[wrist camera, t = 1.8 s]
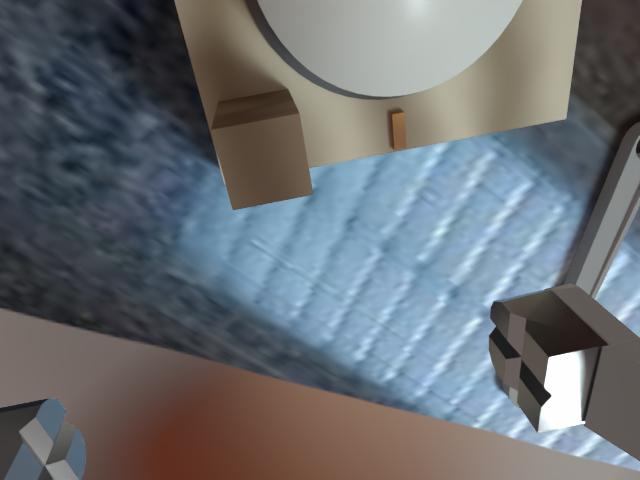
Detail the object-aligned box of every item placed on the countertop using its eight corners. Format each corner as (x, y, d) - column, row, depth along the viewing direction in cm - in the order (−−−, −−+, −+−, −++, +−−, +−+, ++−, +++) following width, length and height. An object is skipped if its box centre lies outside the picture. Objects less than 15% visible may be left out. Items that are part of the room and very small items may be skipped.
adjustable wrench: (624, 115, 29) (646, 121, 27) (701, 128, 30) (725, 135, 29) (491, 392, 40) (501, 408, 39) (551, 392, 41) (564, 408, 40)
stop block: (288, 88, 23) (299, 113, 18) (300, 155, 24) (313, 194, 20) (218, 101, 22) (211, 129, 18) (235, 168, 24) (232, 210, 19)
